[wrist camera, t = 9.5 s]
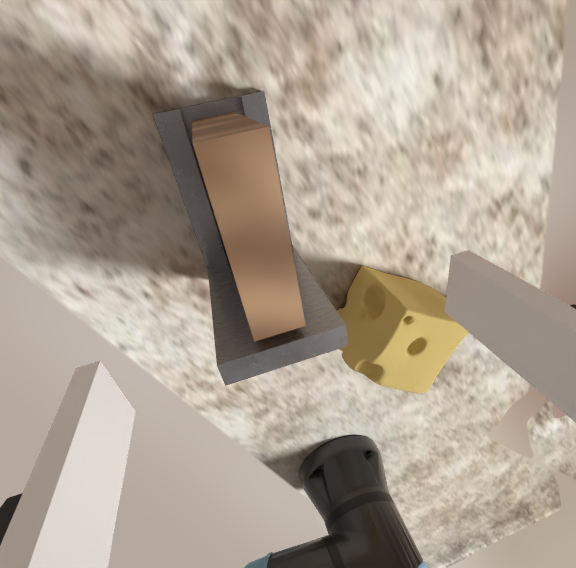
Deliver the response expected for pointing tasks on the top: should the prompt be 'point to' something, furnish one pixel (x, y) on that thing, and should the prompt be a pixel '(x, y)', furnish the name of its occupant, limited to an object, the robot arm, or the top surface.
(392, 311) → the cheese
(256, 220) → the door panel
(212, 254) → the bottom track
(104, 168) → the top surface
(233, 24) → the top surface
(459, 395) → the top surface
